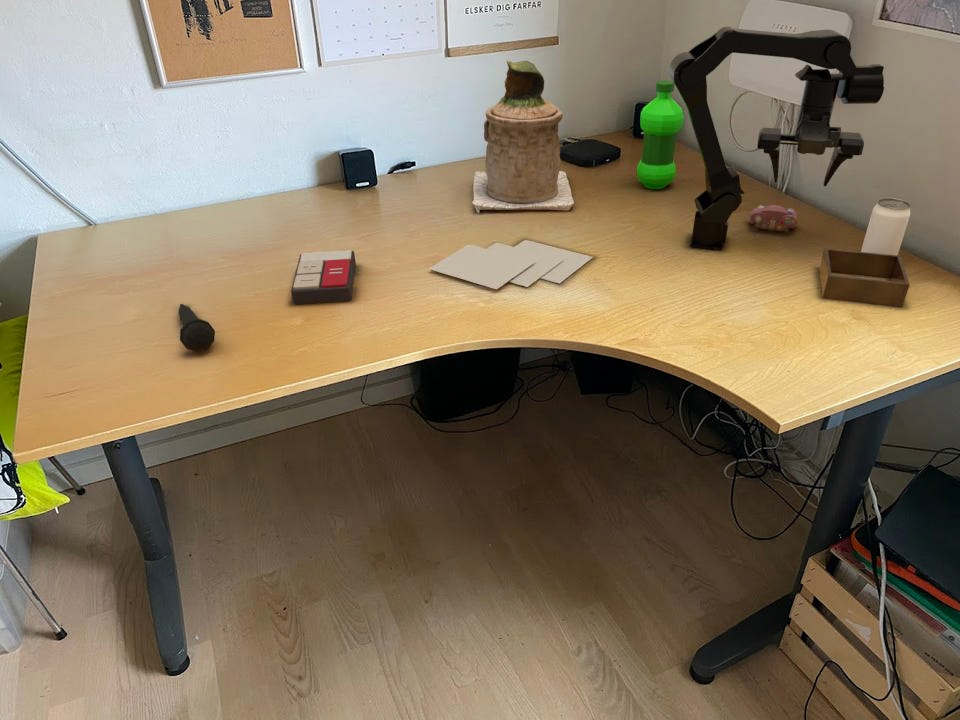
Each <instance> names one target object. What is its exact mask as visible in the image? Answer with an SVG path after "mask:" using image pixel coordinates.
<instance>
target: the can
mask: <svg viewBox="0 0 960 720" xmlns="http://www.w3.org/2000/svg"><path fill="white" fill-rule="evenodd" d="M910 217H911V203H909V202H908V201H906V200H904V199H900V198H895V197H894V198H893V197H885V198H884V197H883V198H879V199H878V200H877V204H876V205H874V207H873V209H872V211H871V215H870V218H869V222H868V225H867V229H866V232H865V235H864V239H863V243H862V245H861V249H860V252H868V253H878V254H887V255H897V256H899V252H900V248H901V247H902V244H903V243H902V242H903V239H904V236H905V234H906V230H907V227H908V223H909V221H910Z"/></svg>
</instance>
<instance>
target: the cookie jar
mask: <svg viewBox="0 0 960 720" xmlns="http://www.w3.org/2000/svg"><path fill="white" fill-rule="evenodd" d="M506 64H507V68H508V69H507V71H506V77H505V80H504V81H503V83H504V88H505V92H504V96H502V97H501V98H500V100H499V101H498V102H497V103H496V104H495V105H492V106H489V107H487V109H486V111H485V118H486V119H485V120H484V122H483V130H484V132H483V139H484V142H486V143H487V144H486V149H485V160H484V161H485V162H484V164H485V165H484V167H485V171H475V173H474V177H473V185H472V186H473V188H472V191H473V199H472V201H471V203H472V206H473V207H474V208H475V210H476V213H477V214H479V213H480V210H490V211H491V210H492V211H493V210H494V211H506V210H508V211H510V210H514V211H515V210H551V211H566V212H568V211H570V210H571V208H572V207H573V206H574V204H575V200H574V198H573V196H572V188H571V187H570V186H571V185H570V184H569V183H570V182H569V179H568V177H567V172H565V171H563V170H561V165H562V161H561V157H560V156H561V146H560V138H559V123H560V122H561V121H562V119H563V112H562V111H561V110H560V108H559V107H558V106H555V105H554V104H553V103H552V102H550V101H549V100H547V99H544V98H543V97H542V94H543V92H544V90H545V78H544V75H542V73H541V71H539V70H538V68H537V67H536V65H535V64H534V63H533V62H531V61H529V60H522V61H521V60H520V61H515V62H513V61H511V60H510V59H508V60H506Z"/></svg>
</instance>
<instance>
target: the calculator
mask: <svg viewBox="0 0 960 720" xmlns="http://www.w3.org/2000/svg"><path fill="white" fill-rule="evenodd" d="M356 272H357V261H356V255H355V250H352V249H347V250H330V251H328V250H327V251H314V252H302V253H301V254H299V257H298V261H297V266H296V269H295V272H294V276H293V281H292V285H291V289H290V293H291V298H292V304H294V305H306V304H320V303H321V304H324V303H336V302H337V303H339V302H350V301H352V300H353V299H352V298H353V290H354V283H355V282H354V281H355V275H356Z"/></svg>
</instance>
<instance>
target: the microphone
mask: <svg viewBox="0 0 960 720" xmlns="http://www.w3.org/2000/svg"><path fill="white" fill-rule="evenodd" d="M178 317H179V320H180V323H181V326H182V327H181V328H180V330H179V331H180V332H179V341H180V342H181V344H182V345H183V346H184V348H185V349H186V350H189V351H192V352H196V353H198V352H202V351H204V350H208V349H210V347H211V345H212V344H213V343H214V342H215V340H216V339H215V337H216V330H215V328H213V326H212V325H211V324H210V322H209V321H207V320H203V319H201V318H199V317H198V316H197V315H196V314H195V313H194V311H193V310H192V308H191V307H190V306H188V305H185V304H183V303H180V304H179V308H178Z"/></svg>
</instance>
